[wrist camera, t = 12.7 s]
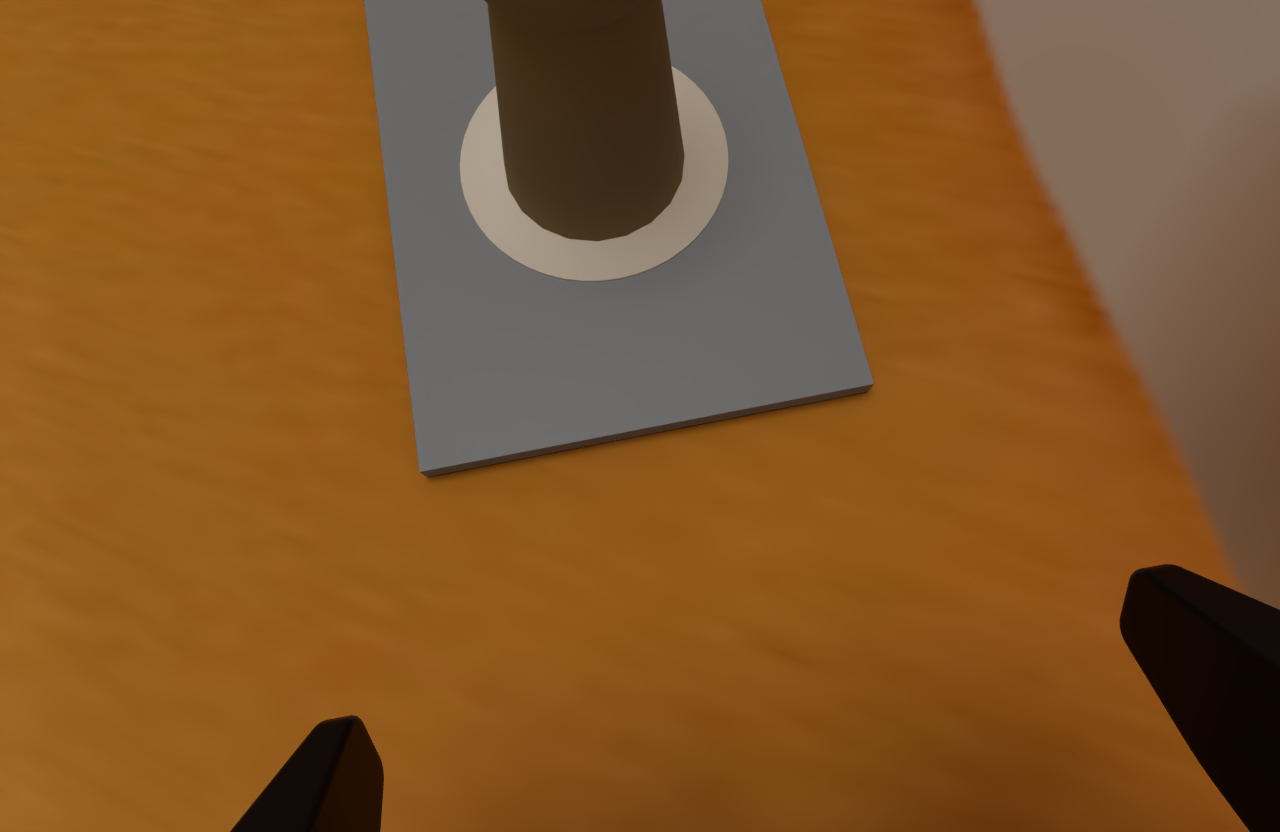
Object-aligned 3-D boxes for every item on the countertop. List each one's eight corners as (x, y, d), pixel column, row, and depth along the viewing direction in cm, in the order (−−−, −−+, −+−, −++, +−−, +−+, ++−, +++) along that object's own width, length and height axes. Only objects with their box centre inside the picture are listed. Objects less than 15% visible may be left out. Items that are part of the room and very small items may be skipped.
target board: (867, 391, 24) (874, 382, 23) (427, 477, 23) (418, 471, 22) (731, -72, 29) (734, -94, 28) (368, -10, 28) (359, -31, 27)
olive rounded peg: (571, 56, 26) (515, -332, 16) (718, 136, 25) (767, -219, 15) (468, 184, 25) (330, -144, 14) (619, 274, 24) (593, -6, 13)
